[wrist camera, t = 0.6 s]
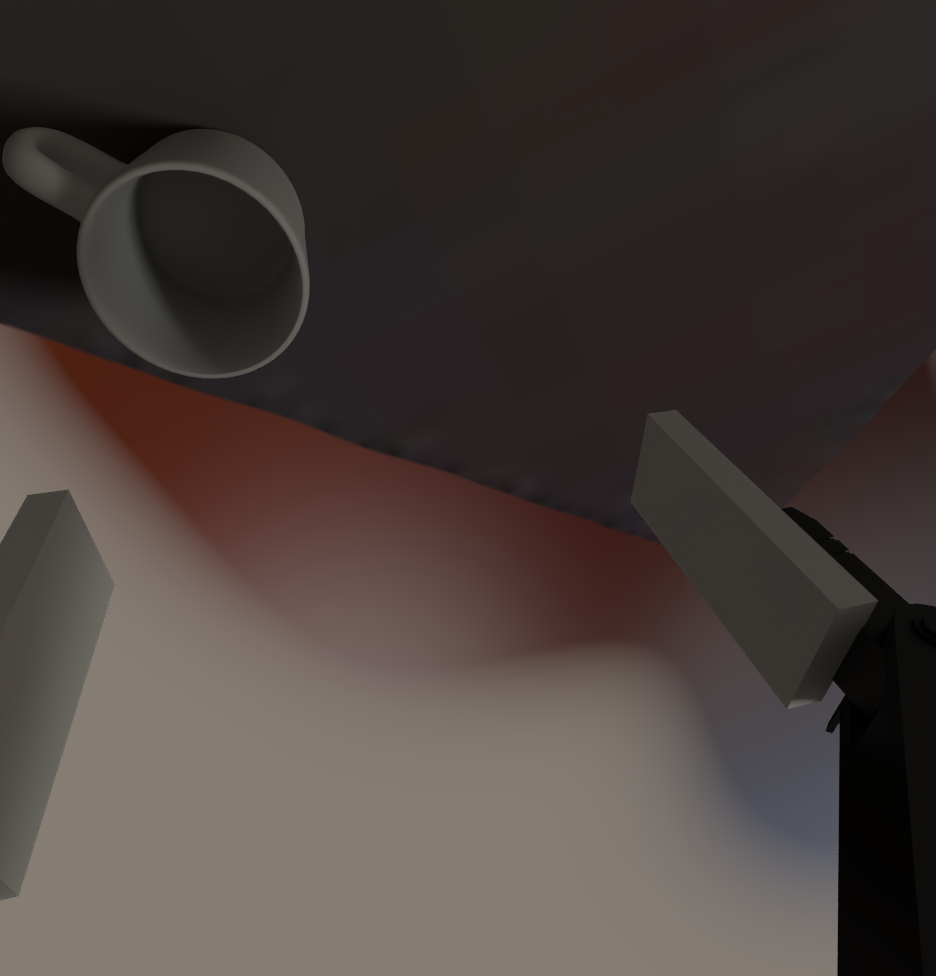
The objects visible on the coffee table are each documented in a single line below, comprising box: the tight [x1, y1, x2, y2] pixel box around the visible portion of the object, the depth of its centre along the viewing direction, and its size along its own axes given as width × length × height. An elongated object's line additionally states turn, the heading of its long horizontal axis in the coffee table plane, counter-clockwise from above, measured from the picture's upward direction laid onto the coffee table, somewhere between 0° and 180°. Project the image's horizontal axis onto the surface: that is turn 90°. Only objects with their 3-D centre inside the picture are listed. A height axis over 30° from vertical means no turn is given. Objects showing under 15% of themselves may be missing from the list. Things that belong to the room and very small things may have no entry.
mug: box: [2, 127, 309, 378], centre depth 27 cm, size 12×8×11 cm
